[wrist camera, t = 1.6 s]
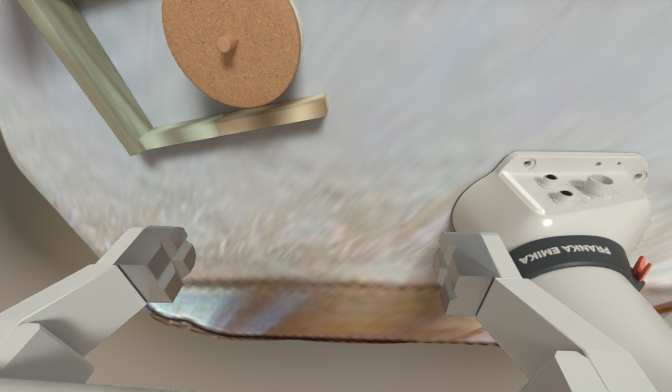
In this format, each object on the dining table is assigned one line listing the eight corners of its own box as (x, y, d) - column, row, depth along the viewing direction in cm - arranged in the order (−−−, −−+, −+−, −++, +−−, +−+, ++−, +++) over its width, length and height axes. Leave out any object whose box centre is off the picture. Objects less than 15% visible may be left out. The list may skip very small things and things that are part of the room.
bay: (276, -118, 22) (261, -135, 19) (328, 106, 33) (325, 120, 29) (36, -33, 27) (-9, -35, 23) (150, 140, 37) (130, 155, 34)
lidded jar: (224, 86, 32) (183, 118, 25) (188, -37, 26) (117, -43, 18) (318, 81, 31) (304, 113, 24) (305, -48, 25) (280, -60, 17)
